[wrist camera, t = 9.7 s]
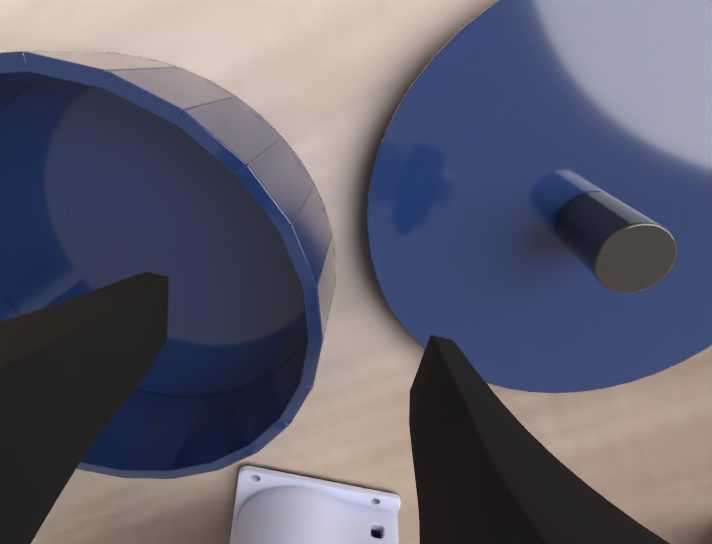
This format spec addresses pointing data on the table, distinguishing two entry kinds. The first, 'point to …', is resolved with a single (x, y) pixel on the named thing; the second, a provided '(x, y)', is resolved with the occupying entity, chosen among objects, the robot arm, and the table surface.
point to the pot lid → (555, 193)
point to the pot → (167, 246)
